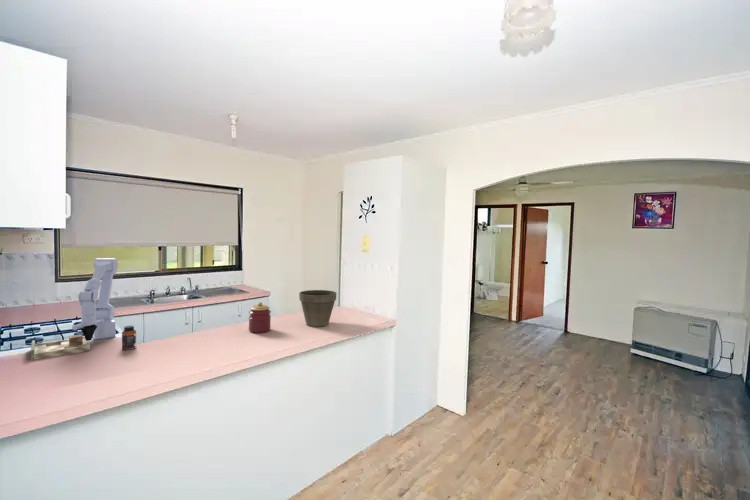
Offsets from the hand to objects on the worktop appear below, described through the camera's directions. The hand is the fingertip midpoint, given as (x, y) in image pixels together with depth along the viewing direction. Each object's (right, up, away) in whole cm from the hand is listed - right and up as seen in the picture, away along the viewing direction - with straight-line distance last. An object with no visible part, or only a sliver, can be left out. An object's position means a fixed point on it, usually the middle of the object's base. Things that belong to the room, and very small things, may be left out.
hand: (88, 340), depth 182 cm
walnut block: (-4, -1, -3) cm, 5 cm away
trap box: (-7, -3, -7) cm, 11 cm away
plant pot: (+108, -4, +57) cm, 122 cm away
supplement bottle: (+22, -4, -1) cm, 22 cm away
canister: (+75, -4, +38) cm, 84 cm away
